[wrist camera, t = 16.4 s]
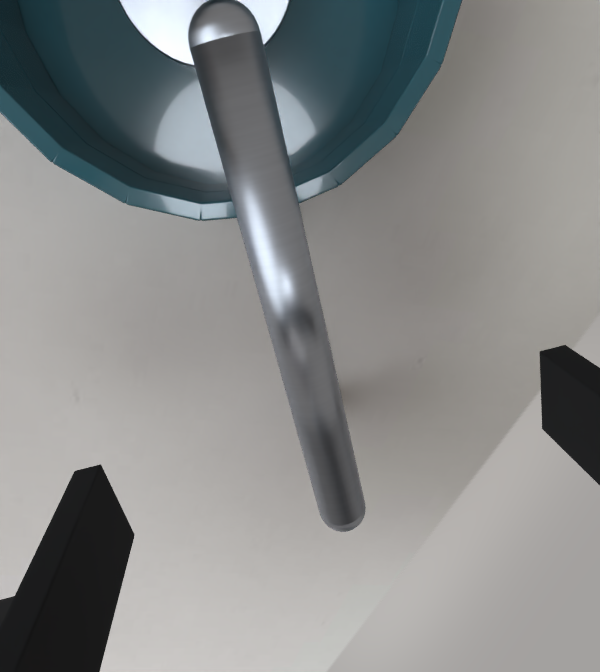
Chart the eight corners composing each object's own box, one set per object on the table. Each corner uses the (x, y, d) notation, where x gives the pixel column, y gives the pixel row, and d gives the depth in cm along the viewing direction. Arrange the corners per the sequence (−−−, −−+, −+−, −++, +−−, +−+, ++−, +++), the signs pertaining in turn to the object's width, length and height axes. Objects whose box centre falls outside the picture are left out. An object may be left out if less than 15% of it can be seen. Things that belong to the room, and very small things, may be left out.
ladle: (82, -121, 17) (-54, -322, 9) (268, -165, 17) (301, -406, 9) (258, 425, 27) (269, 562, 19) (373, 395, 27) (432, 519, 19)
